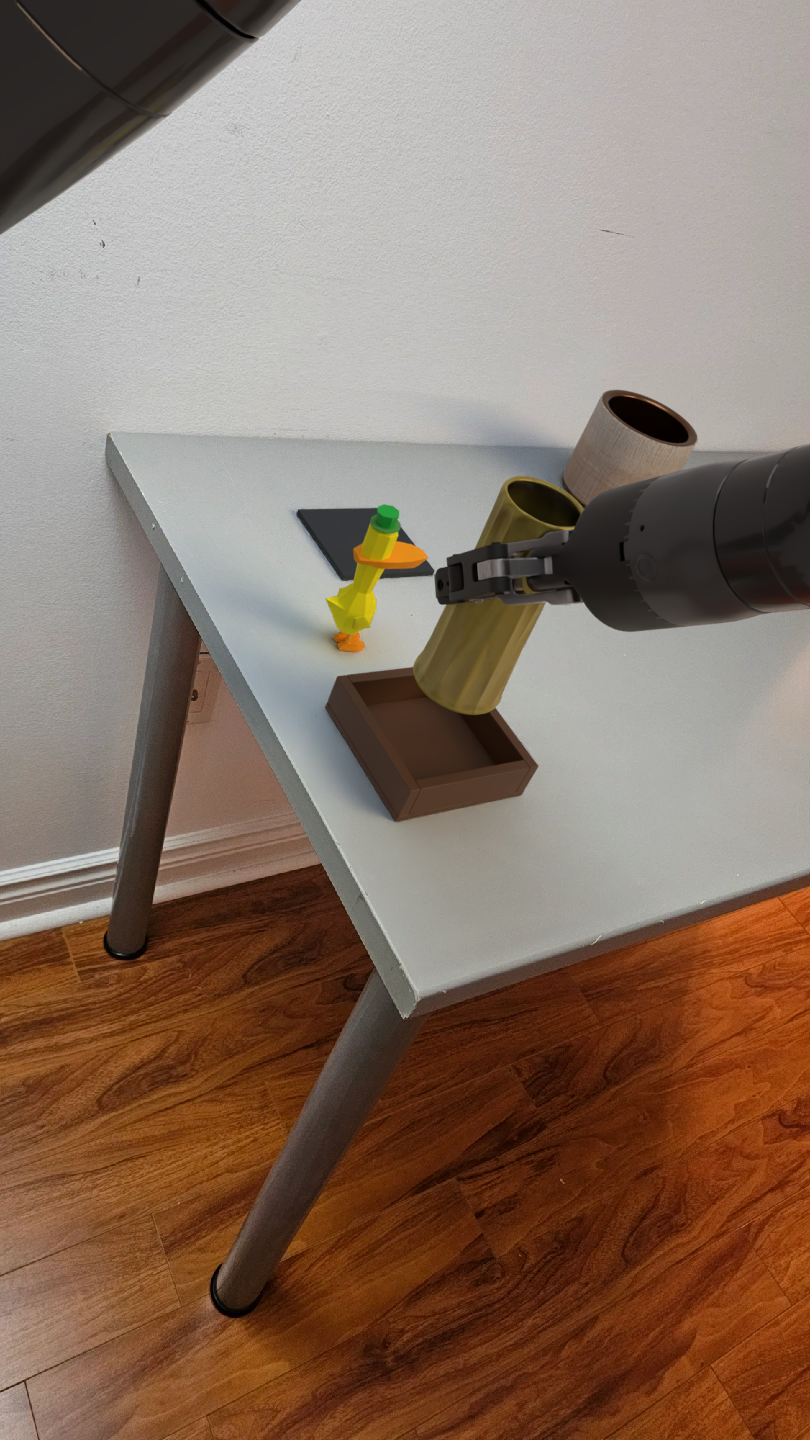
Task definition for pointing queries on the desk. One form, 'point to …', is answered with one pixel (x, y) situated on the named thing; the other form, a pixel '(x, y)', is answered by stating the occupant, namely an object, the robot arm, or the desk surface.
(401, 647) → the desk surface
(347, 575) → the mat
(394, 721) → the tray
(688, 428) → the planter
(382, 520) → the toy figure
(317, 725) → the desk surface
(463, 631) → the vase
